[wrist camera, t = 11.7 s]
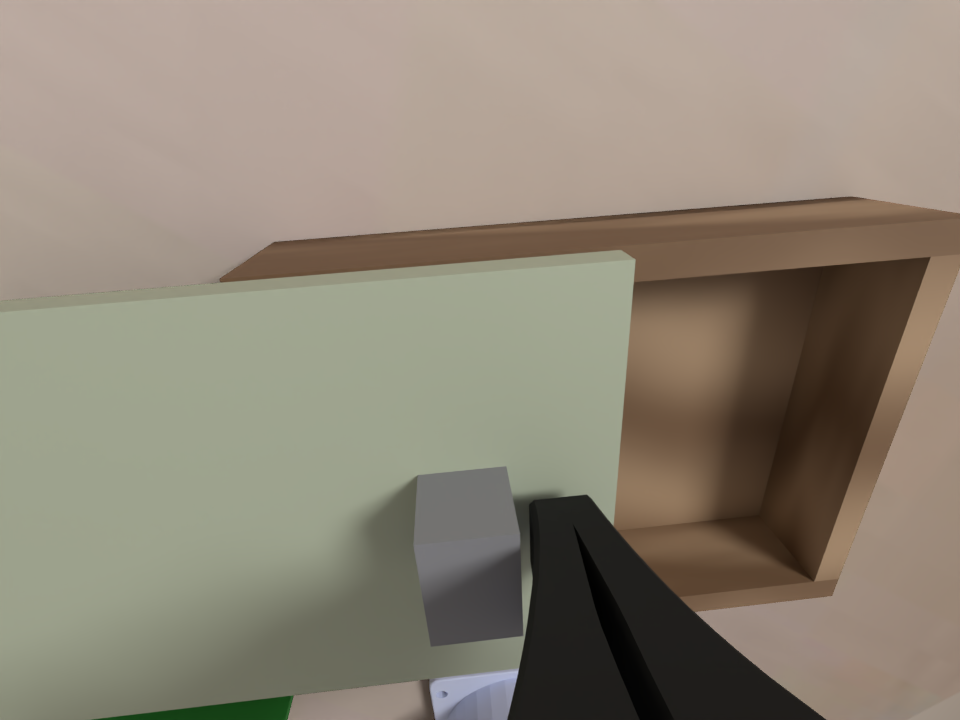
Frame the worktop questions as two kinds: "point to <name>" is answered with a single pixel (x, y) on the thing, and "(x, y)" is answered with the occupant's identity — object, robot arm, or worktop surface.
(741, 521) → the brown wooden shallow box
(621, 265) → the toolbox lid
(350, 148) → the worktop surface
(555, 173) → the worktop surface
